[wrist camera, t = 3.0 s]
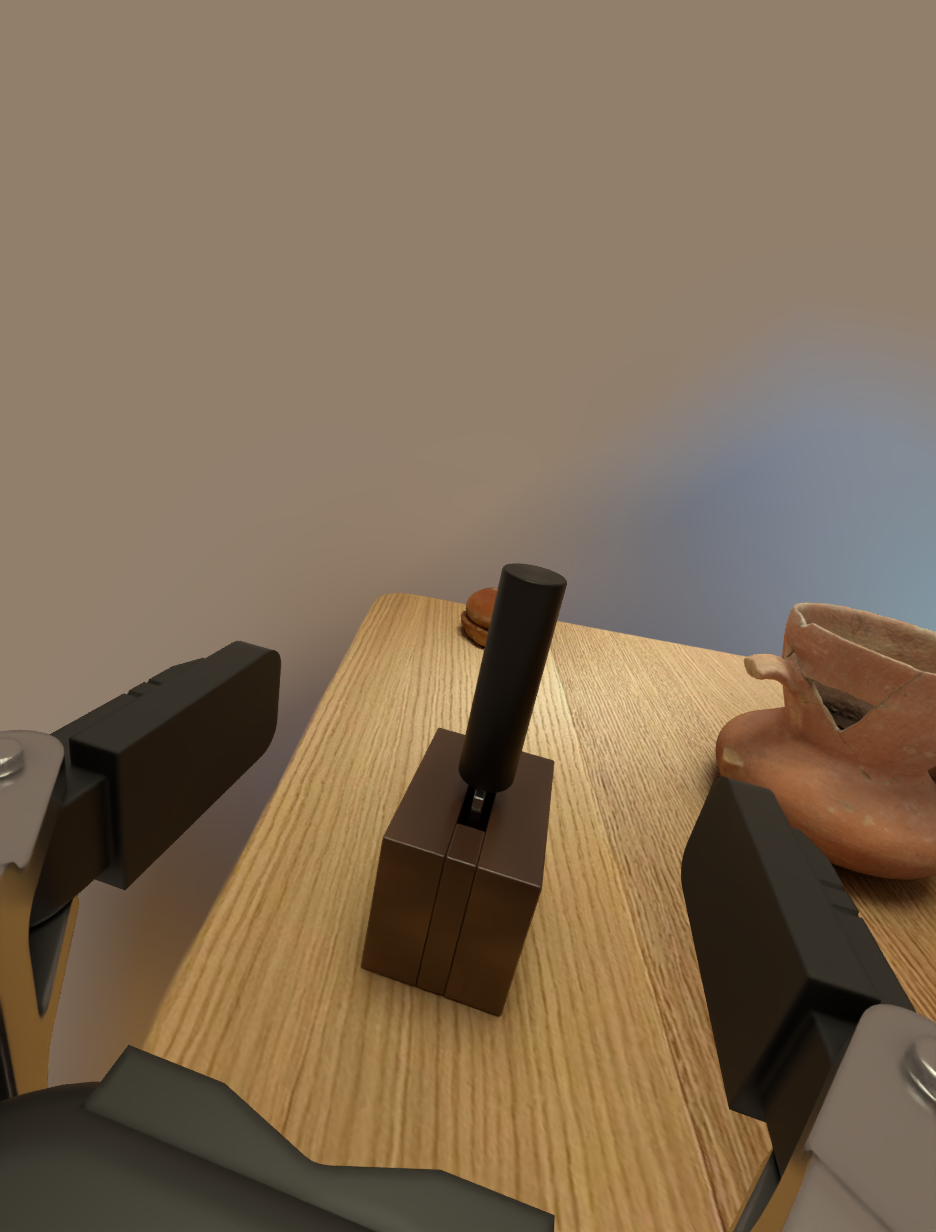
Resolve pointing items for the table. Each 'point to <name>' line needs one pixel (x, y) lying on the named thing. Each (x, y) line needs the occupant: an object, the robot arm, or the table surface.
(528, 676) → the black tall cylinder
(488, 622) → the burger
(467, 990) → the knife block
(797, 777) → the ceramic jug
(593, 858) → the table surface
